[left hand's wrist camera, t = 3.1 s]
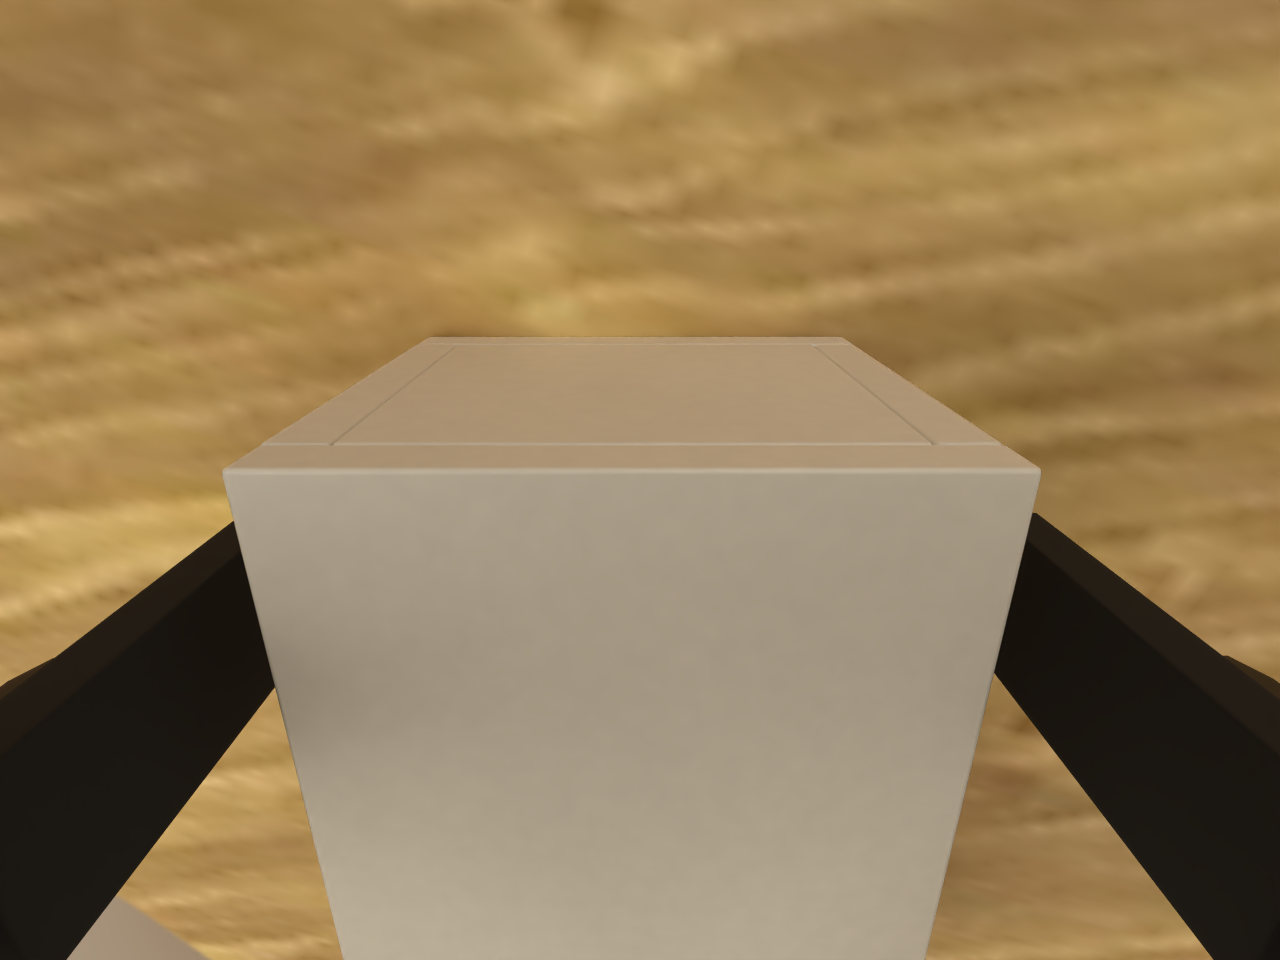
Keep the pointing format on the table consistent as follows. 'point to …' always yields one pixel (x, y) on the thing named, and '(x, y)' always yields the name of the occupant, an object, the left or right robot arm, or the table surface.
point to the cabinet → (632, 645)
